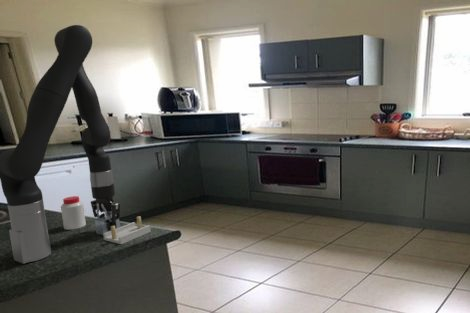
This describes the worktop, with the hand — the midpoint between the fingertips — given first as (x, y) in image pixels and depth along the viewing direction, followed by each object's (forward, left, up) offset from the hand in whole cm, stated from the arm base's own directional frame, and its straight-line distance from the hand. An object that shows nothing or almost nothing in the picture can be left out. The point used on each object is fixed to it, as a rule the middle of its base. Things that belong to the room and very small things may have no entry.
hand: (108, 229), depth 131 cm
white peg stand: (0, -11, 0) cm, 11 cm away
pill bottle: (-2, +18, -1) cm, 18 cm away
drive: (0, 0, -1) cm, 1 cm away
